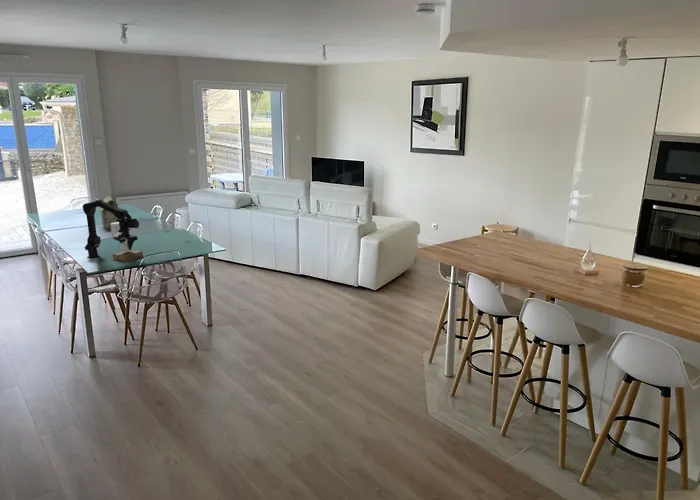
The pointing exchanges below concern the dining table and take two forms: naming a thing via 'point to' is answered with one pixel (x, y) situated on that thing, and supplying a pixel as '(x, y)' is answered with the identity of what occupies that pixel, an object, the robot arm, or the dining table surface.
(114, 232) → the small box
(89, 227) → the robot arm
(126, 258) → the walnut block
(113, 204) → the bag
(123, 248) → the sage cube
